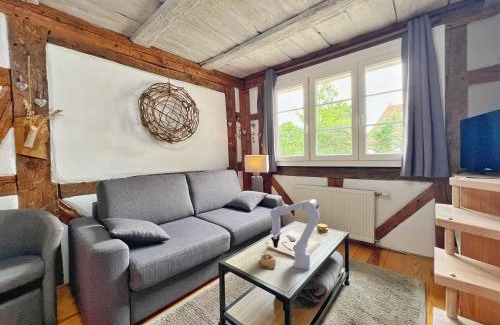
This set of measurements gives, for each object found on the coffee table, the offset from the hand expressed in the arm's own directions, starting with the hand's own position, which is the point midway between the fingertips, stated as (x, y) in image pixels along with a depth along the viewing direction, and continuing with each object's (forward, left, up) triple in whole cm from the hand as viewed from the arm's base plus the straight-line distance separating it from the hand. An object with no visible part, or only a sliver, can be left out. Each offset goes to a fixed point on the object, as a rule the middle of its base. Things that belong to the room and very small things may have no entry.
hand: (276, 244), depth 144 cm
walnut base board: (+5, +9, -9) cm, 14 cm away
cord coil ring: (+5, +9, -8) cm, 13 cm away
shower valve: (-10, -22, -10) cm, 26 cm away
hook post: (+5, +9, -8) cm, 13 cm away
